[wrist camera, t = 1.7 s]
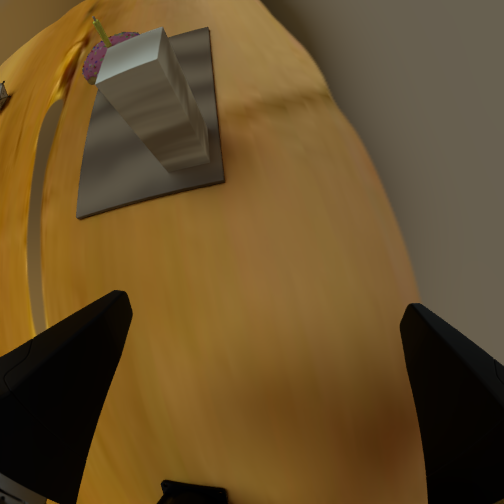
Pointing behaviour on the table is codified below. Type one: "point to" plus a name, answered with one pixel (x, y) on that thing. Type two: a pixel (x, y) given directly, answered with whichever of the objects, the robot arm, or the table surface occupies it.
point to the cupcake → (102, 51)
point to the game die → (3, 94)
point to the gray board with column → (151, 122)
